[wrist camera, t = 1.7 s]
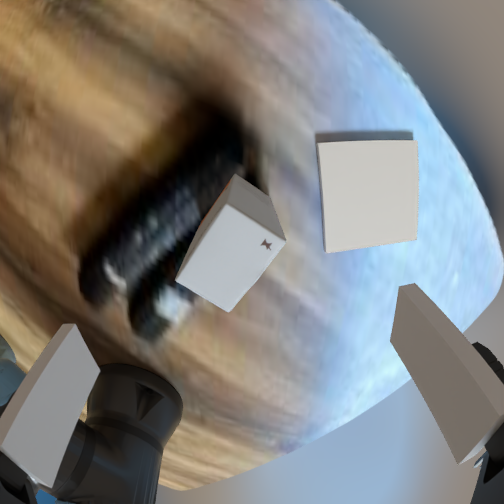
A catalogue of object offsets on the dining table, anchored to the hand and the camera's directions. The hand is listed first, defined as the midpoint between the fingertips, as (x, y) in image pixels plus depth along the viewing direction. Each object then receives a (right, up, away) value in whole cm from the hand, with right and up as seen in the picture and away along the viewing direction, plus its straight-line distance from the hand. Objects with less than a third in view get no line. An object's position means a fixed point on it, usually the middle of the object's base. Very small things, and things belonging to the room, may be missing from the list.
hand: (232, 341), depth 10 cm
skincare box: (-1, +7, +17) cm, 19 cm away
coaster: (+13, +9, +17) cm, 23 cm away
